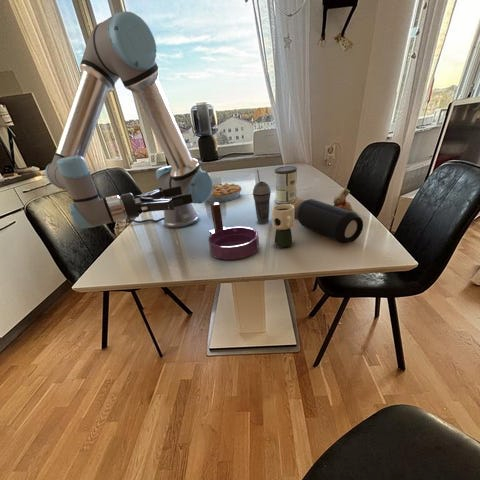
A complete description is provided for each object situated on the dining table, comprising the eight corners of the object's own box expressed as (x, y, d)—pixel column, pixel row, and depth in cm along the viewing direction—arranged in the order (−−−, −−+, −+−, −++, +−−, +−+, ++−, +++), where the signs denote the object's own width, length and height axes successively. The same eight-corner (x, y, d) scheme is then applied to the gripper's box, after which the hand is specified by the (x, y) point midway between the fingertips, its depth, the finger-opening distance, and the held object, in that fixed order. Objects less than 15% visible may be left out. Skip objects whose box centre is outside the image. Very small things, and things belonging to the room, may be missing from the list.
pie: (197, 197, 160) (195, 187, 157) (232, 188, 166) (231, 179, 163) (210, 206, 144) (209, 195, 141) (248, 196, 150) (248, 186, 146)
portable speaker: (362, 241, 95) (367, 211, 89) (339, 249, 92) (343, 218, 86) (313, 221, 113) (315, 195, 107) (293, 227, 110) (294, 200, 104)
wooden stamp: (214, 240, 108) (208, 207, 101) (210, 236, 112) (204, 204, 104) (229, 236, 110) (225, 203, 102) (225, 232, 113) (220, 200, 106)
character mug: (267, 242, 102) (266, 205, 94) (285, 237, 104) (285, 201, 95) (280, 253, 94) (280, 214, 86) (300, 248, 95) (301, 209, 87)
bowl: (201, 255, 99) (198, 242, 96) (230, 237, 109) (228, 224, 106) (240, 265, 90) (238, 250, 87) (268, 244, 101) (267, 230, 97)
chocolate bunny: (332, 210, 121) (335, 185, 115) (352, 209, 119) (355, 184, 113) (332, 214, 117) (334, 189, 111) (352, 214, 115) (355, 188, 108)
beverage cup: (270, 224, 115) (269, 170, 102) (253, 225, 117) (249, 172, 104) (272, 218, 120) (271, 166, 108) (255, 219, 122) (252, 167, 110)
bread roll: (293, 227, 119) (299, 212, 113) (281, 211, 123) (285, 196, 116) (312, 221, 123) (318, 206, 116) (299, 206, 126) (305, 190, 119)
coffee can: (280, 196, 144) (280, 165, 135) (299, 197, 139) (300, 166, 130) (271, 202, 138) (270, 171, 129) (290, 204, 133) (291, 171, 124)
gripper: (123, 209, 103) (179, 197, 109) (132, 229, 85) (199, 214, 90) (116, 187, 98) (174, 176, 104) (123, 204, 80) (194, 189, 86)
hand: (186, 193), depth 97 cm, fingers open, 13 cm apart
